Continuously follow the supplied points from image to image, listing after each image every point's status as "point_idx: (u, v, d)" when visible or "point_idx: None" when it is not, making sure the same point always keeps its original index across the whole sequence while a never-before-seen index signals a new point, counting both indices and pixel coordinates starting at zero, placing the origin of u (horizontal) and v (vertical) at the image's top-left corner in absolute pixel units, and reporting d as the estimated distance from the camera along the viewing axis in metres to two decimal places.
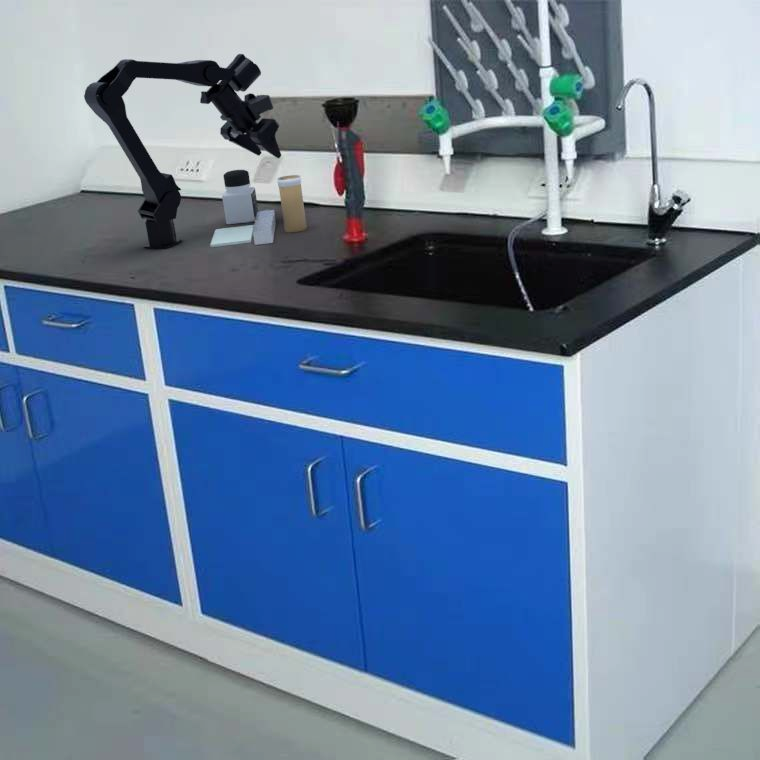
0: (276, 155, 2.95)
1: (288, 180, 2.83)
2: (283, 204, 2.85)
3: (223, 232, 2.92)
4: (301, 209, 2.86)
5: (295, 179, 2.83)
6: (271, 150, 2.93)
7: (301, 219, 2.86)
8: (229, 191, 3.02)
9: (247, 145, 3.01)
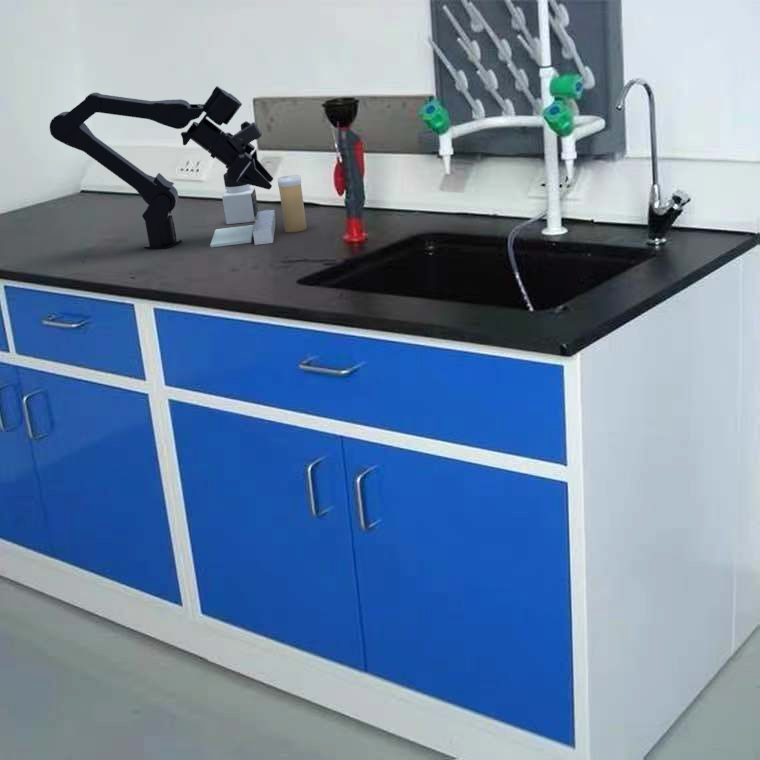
0: (264, 187, 2.80)
1: (288, 180, 2.83)
2: (283, 204, 2.85)
3: (223, 232, 2.92)
4: (301, 209, 2.86)
5: (295, 179, 2.83)
6: (256, 183, 2.79)
7: (301, 219, 2.86)
8: (229, 191, 3.02)
9: None
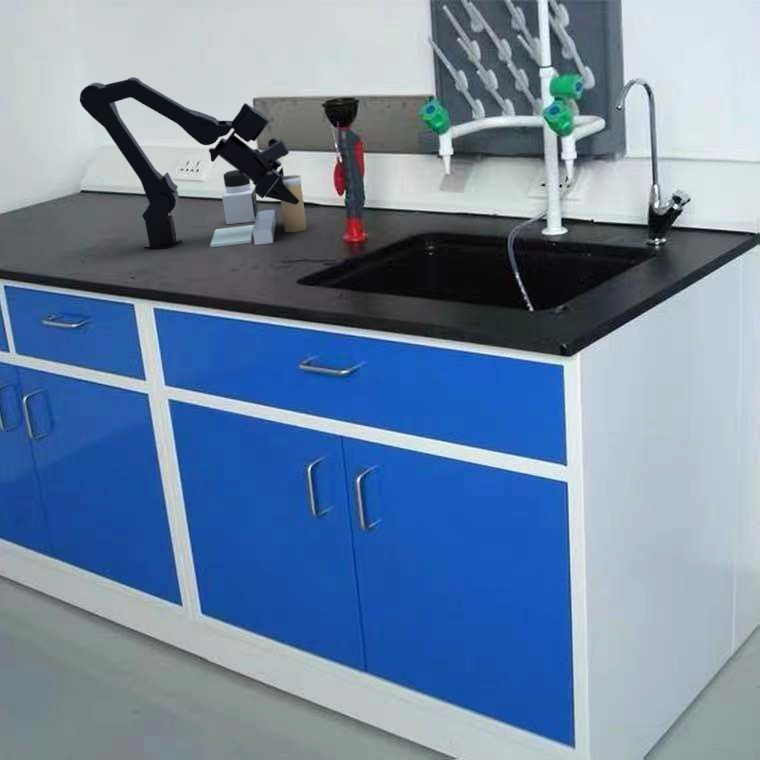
0: (292, 202, 2.84)
1: (288, 180, 2.83)
2: (283, 204, 2.85)
3: (223, 232, 2.92)
4: (301, 209, 2.86)
5: (295, 179, 2.83)
6: (283, 198, 2.83)
7: (301, 219, 2.86)
8: (229, 191, 3.02)
9: None
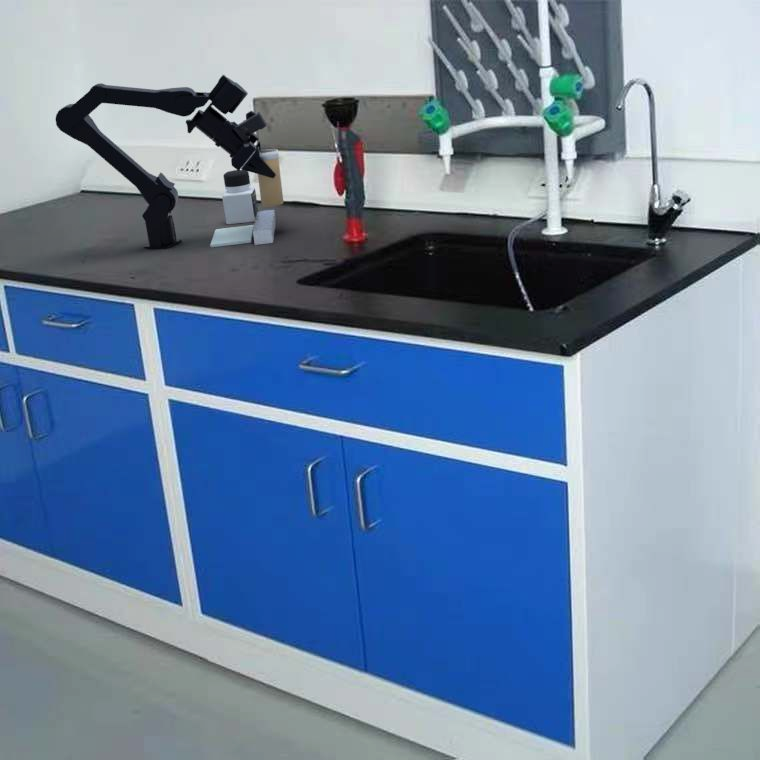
0: (268, 175, 2.82)
1: (265, 153, 2.81)
2: (260, 178, 2.83)
3: (223, 232, 2.92)
4: (278, 183, 2.84)
5: (272, 152, 2.81)
6: (260, 172, 2.81)
7: (278, 193, 2.84)
8: (229, 191, 3.02)
9: None
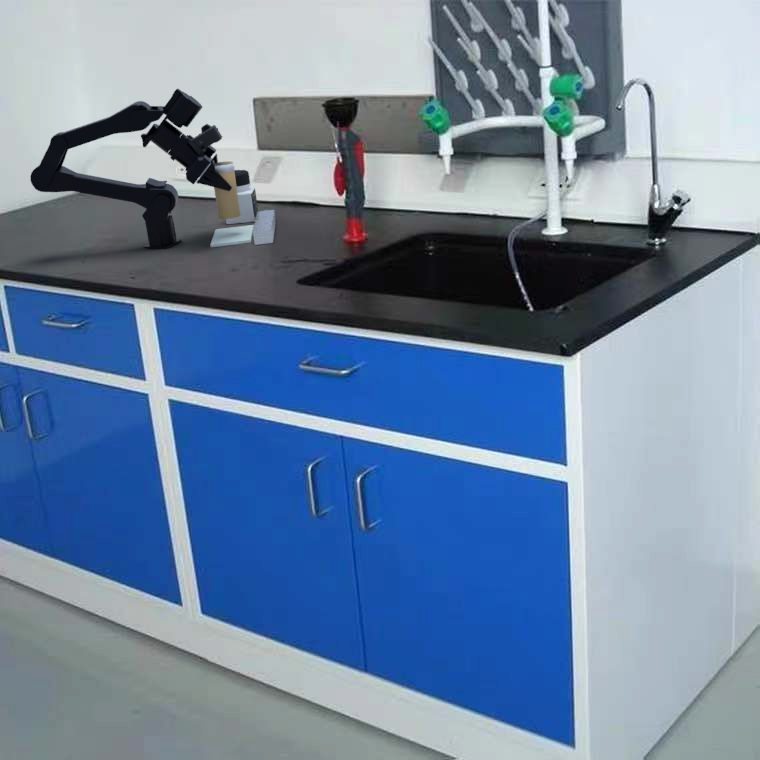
0: (224, 188, 2.82)
1: (221, 166, 2.81)
2: (216, 190, 2.84)
3: (223, 232, 2.92)
4: (234, 195, 2.84)
5: (228, 165, 2.81)
6: (216, 185, 2.81)
7: (234, 205, 2.85)
8: None
9: None
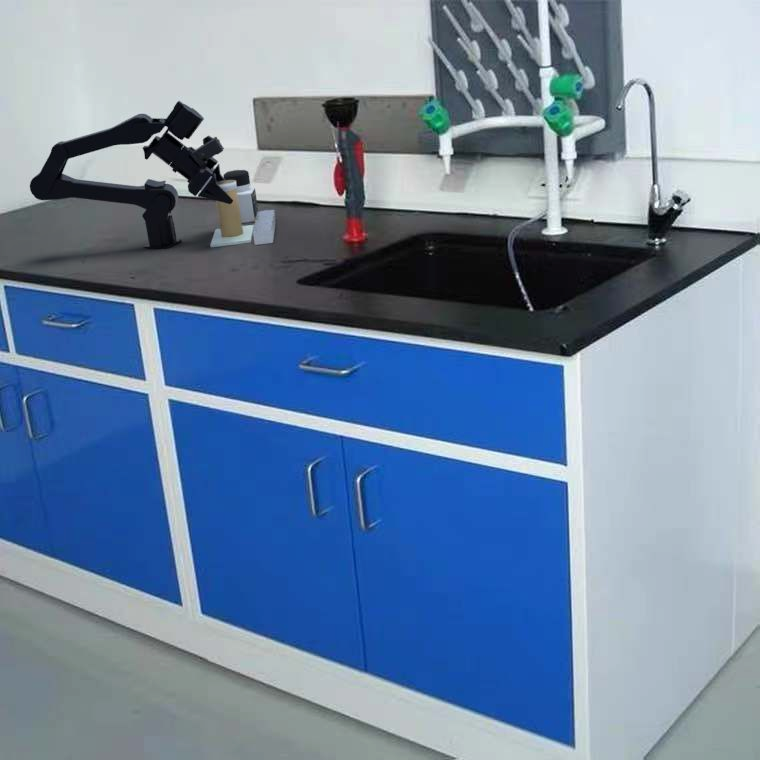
0: (226, 202, 2.81)
1: (223, 185, 2.82)
2: (219, 209, 2.85)
3: None
4: (237, 214, 2.86)
5: (230, 184, 2.83)
6: (217, 198, 2.80)
7: (237, 224, 2.86)
8: None
9: None
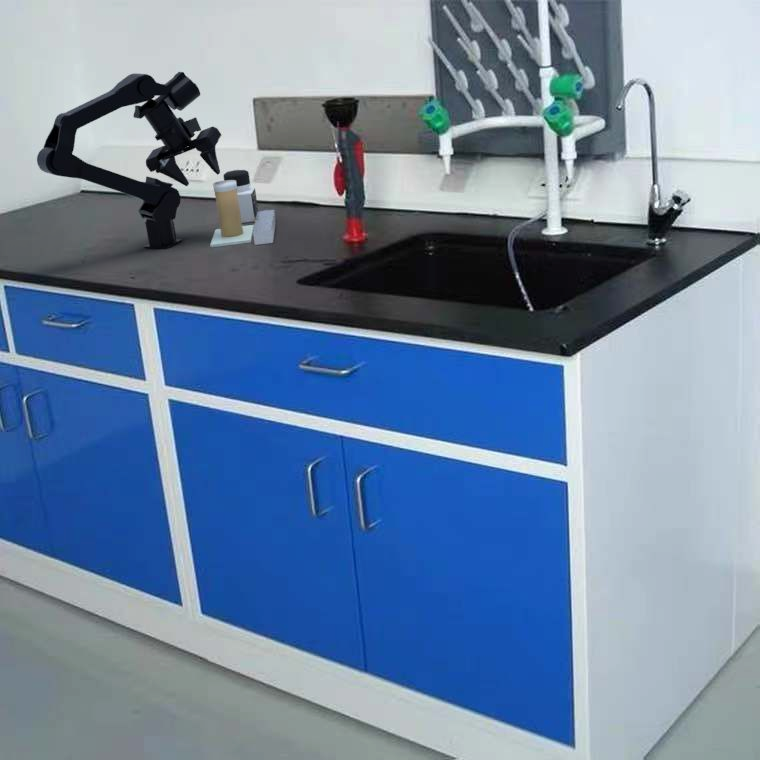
0: (217, 170, 2.87)
1: (223, 185, 2.82)
2: (219, 209, 2.85)
3: None
4: (237, 214, 2.86)
5: (230, 184, 2.83)
6: (213, 163, 2.85)
7: (237, 224, 2.86)
8: None
9: (176, 174, 2.90)
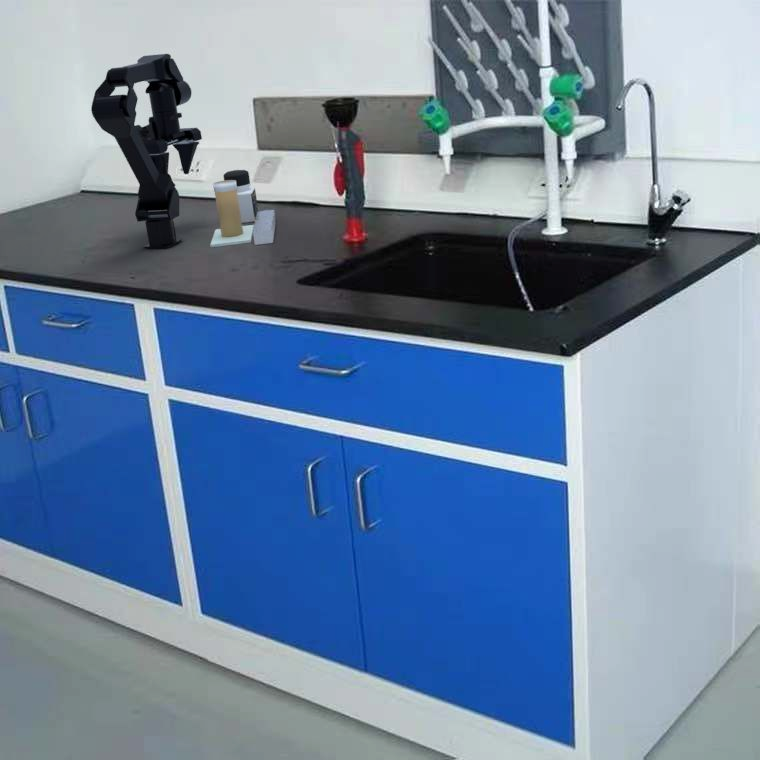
0: None
1: (223, 185, 2.82)
2: (219, 209, 2.85)
3: None
4: (237, 214, 2.86)
5: (230, 184, 2.83)
6: None
7: (237, 224, 2.86)
8: None
9: None
